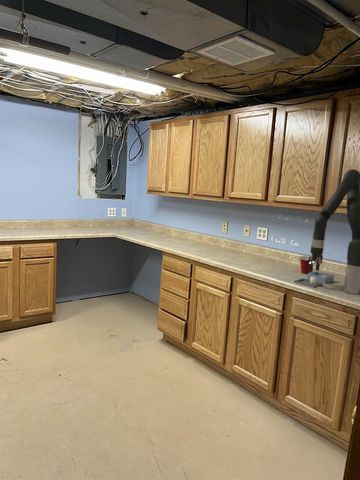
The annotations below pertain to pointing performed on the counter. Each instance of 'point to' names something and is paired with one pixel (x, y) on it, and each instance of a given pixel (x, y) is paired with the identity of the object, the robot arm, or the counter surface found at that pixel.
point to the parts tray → (307, 282)
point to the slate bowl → (320, 278)
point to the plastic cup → (304, 264)
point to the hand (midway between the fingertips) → (313, 271)
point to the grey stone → (313, 280)
